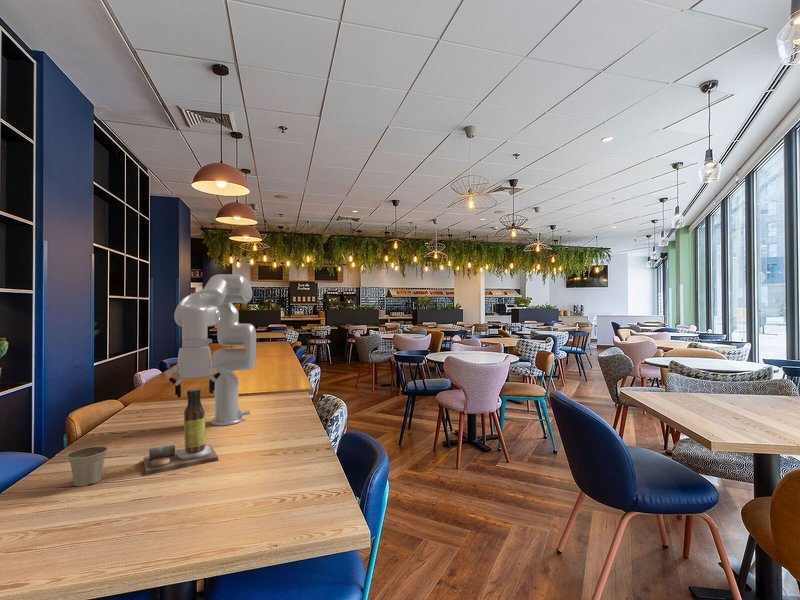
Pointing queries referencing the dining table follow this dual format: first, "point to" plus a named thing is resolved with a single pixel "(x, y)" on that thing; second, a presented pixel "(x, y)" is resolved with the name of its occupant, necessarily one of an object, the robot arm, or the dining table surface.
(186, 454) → the board
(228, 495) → the dining table surface
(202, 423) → the sauce bottle
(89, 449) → the flower pot
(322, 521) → the dining table surface
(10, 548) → the dining table surface
